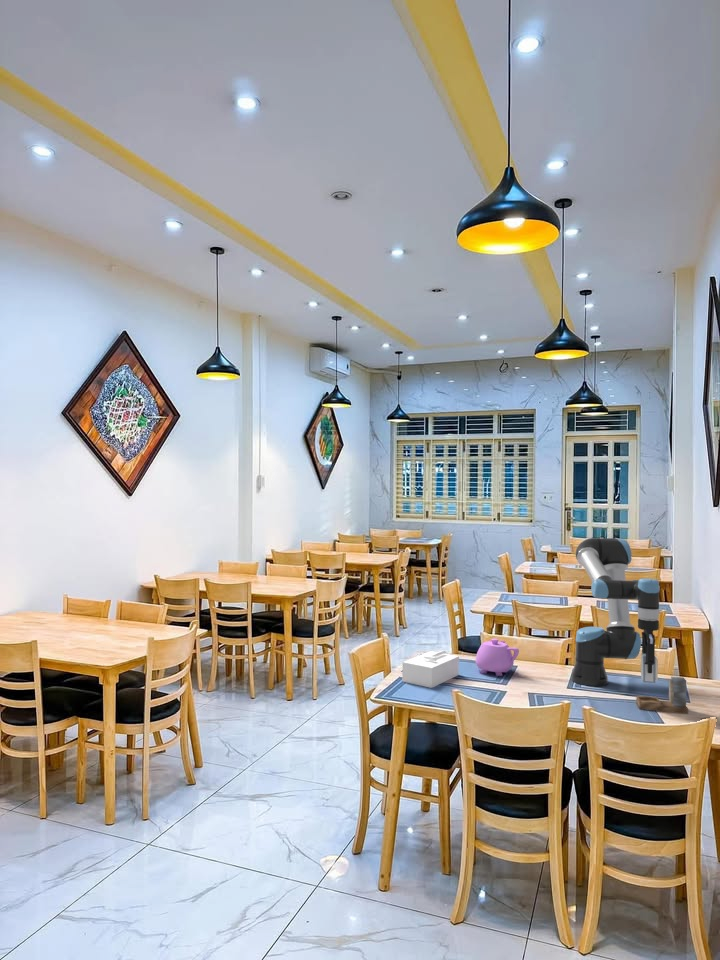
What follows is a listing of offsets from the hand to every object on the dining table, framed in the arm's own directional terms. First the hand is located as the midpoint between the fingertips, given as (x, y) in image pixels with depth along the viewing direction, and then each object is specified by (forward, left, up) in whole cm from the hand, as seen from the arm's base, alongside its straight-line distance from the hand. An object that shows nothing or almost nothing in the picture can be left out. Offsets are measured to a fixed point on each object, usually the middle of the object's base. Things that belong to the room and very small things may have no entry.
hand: (648, 679), depth 252 cm
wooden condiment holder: (+5, 0, -11) cm, 12 cm away
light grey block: (0, 0, -1) cm, 1 cm away
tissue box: (-86, +14, -11) cm, 88 cm away
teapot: (-58, +34, -11) cm, 68 cm away
